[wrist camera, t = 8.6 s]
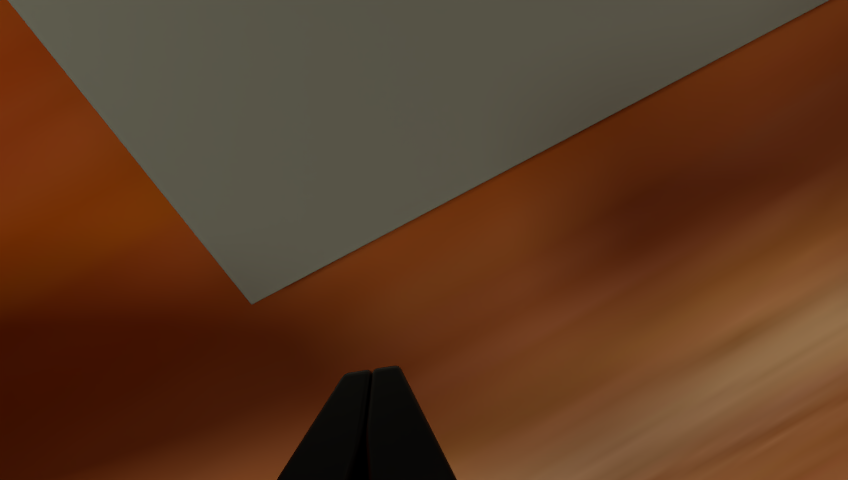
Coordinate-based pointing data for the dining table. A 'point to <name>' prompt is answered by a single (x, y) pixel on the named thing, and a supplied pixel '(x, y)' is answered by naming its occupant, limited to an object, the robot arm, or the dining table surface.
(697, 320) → the dining table surface
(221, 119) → the board
